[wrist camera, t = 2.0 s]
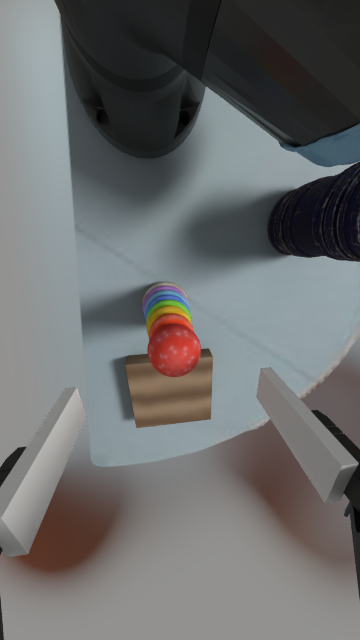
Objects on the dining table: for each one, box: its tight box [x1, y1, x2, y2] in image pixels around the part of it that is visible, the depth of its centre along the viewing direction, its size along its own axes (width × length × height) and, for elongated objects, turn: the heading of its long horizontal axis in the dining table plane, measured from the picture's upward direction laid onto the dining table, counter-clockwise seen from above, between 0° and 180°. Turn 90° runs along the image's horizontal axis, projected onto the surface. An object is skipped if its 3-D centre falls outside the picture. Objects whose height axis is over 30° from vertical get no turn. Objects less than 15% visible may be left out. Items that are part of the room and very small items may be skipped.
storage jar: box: [268, 162, 360, 262], centre depth 23 cm, size 10×10×15 cm
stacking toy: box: [142, 282, 201, 377], centre depth 24 cm, size 8×8×19 cm
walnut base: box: [125, 349, 213, 428], centre depth 38 cm, size 16×16×3 cm
